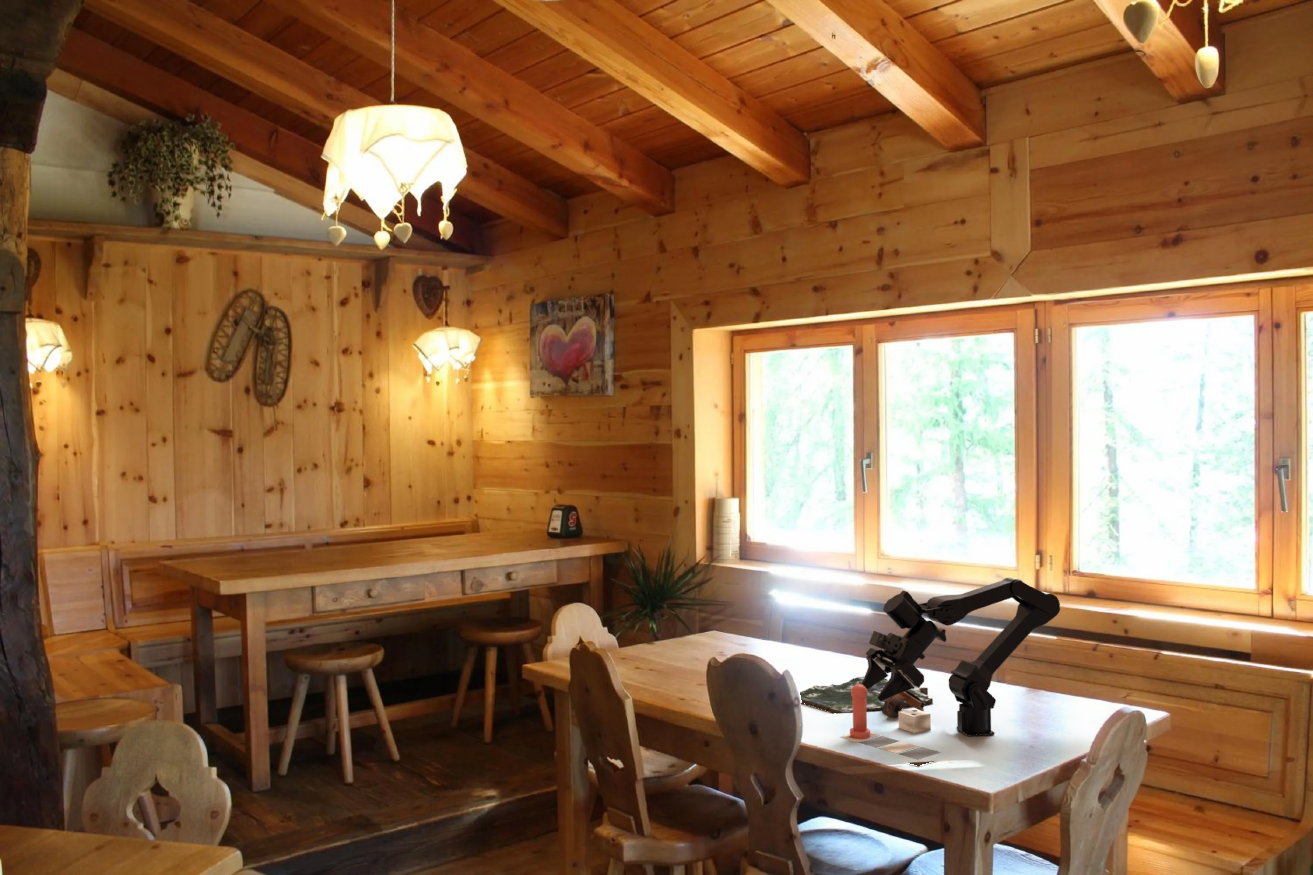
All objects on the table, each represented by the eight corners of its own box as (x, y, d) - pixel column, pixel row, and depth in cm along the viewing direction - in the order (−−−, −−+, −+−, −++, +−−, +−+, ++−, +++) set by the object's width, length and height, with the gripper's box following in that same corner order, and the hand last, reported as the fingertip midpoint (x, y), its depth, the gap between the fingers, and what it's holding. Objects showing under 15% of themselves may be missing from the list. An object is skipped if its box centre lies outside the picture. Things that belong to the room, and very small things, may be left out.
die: (915, 730, 239) (915, 708, 239) (930, 735, 235) (930, 713, 235) (898, 733, 237) (898, 711, 237) (913, 738, 232) (913, 716, 233)
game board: (835, 742, 230) (835, 736, 230) (862, 735, 236) (862, 729, 236) (918, 766, 212) (918, 760, 212) (946, 758, 217) (946, 752, 217)
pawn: (866, 732, 233) (865, 681, 233) (872, 738, 228) (872, 686, 228) (847, 733, 232) (846, 682, 232) (853, 739, 228) (852, 686, 228)
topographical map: (786, 700, 271) (786, 689, 271) (878, 684, 288) (878, 673, 288) (855, 722, 249) (854, 709, 249) (950, 702, 266) (949, 690, 266)
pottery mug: (884, 713, 256) (901, 685, 256) (917, 736, 251) (934, 706, 251) (868, 711, 246) (886, 681, 246) (902, 735, 241) (919, 704, 241)
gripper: (873, 612, 241) (829, 662, 239) (910, 625, 223) (863, 679, 221) (904, 644, 243) (861, 694, 240) (944, 659, 225) (898, 714, 222)
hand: (870, 694), depth 231 cm, fingers open, 9 cm apart
